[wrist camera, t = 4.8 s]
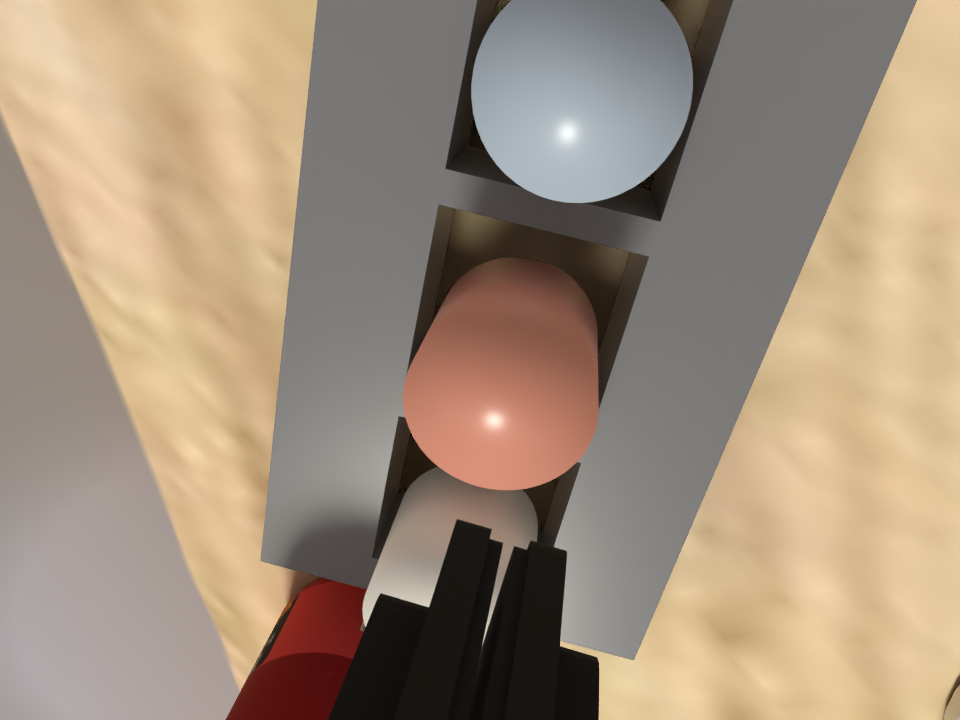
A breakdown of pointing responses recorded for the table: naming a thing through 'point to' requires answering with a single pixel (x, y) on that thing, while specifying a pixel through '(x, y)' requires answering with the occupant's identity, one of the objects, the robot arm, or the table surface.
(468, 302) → the pink rounded dome
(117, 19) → the table surface
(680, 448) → the grey slotted tray
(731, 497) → the table surface
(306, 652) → the canned food
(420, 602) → the white dome button
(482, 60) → the pale blue rounded dome
